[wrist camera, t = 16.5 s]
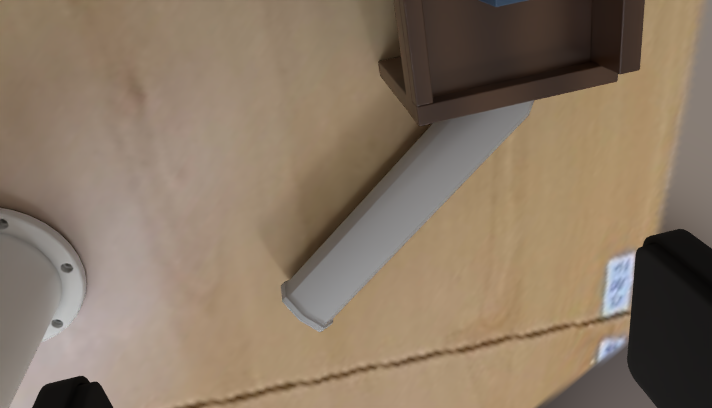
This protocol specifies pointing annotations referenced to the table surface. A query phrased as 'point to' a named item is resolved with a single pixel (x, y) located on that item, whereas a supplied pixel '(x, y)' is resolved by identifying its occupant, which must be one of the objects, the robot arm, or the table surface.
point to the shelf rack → (507, 52)
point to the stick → (501, 2)
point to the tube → (396, 211)
